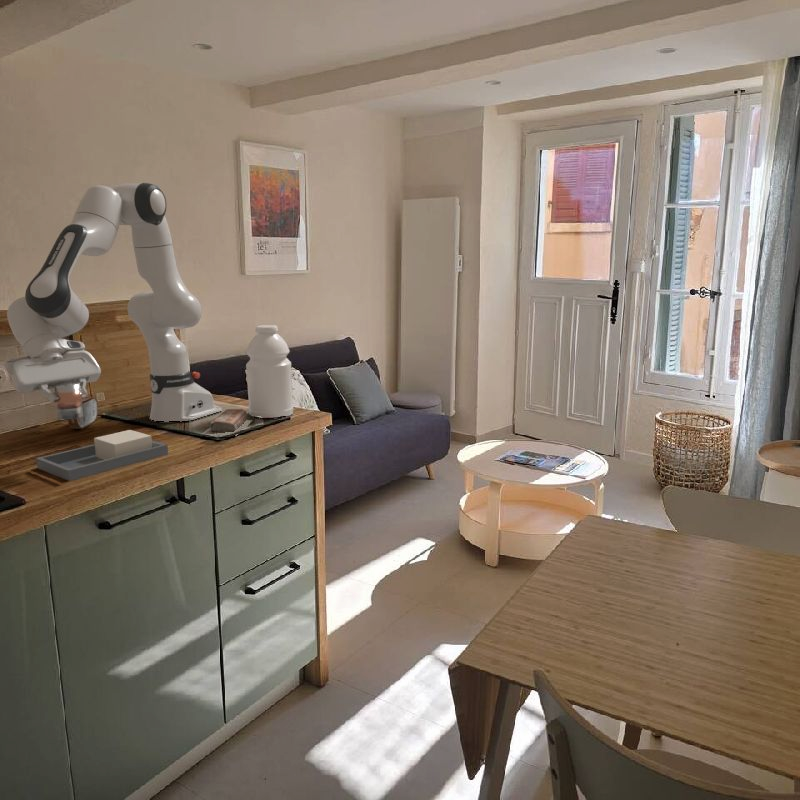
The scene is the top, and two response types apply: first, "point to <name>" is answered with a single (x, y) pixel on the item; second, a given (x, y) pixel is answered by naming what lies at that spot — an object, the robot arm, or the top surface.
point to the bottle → (269, 374)
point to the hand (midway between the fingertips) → (70, 398)
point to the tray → (93, 461)
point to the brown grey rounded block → (86, 414)
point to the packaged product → (227, 421)
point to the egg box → (121, 444)
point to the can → (69, 400)
